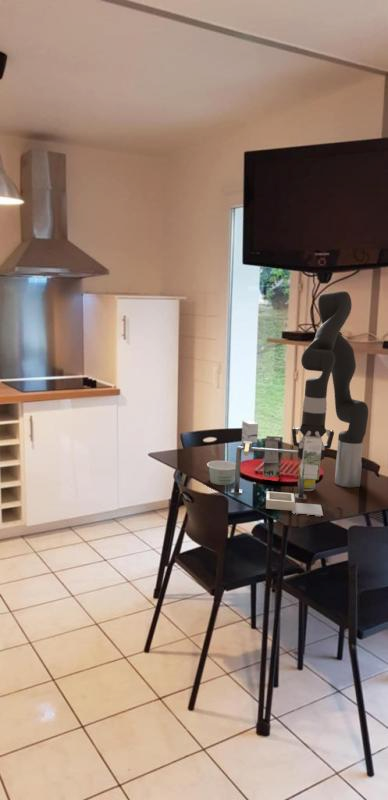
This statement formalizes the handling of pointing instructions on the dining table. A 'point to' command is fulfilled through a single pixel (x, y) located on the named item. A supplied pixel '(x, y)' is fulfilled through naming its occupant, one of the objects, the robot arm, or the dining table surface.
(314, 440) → the syrup box
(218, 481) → the food container
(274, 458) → the coffee box
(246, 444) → the latch
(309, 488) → the pill bottle
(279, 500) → the socket
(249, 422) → the ink box
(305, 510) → the pad
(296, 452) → the latch rail
